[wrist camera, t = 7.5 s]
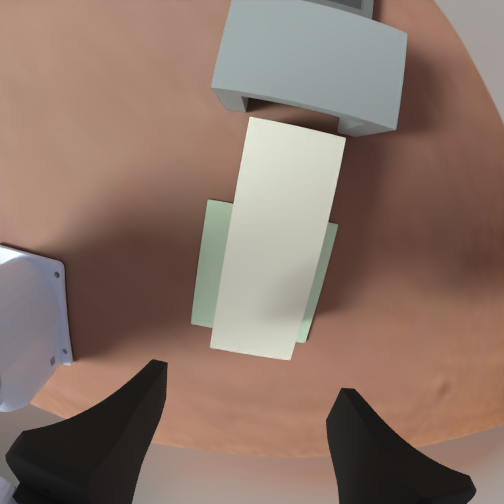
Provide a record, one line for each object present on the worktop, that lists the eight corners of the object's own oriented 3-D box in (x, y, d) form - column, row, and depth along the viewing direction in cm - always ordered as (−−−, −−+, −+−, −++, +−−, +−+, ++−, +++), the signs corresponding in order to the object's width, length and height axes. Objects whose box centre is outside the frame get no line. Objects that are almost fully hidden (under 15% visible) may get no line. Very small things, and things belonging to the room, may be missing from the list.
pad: (304, 341, 21) (305, 342, 21) (191, 322, 21) (190, 323, 21) (337, 224, 19) (338, 224, 19) (208, 198, 19) (208, 199, 18)
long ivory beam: (284, 325, 21) (289, 360, 17) (218, 314, 21) (209, 347, 17) (327, 142, 17) (345, 138, 13) (251, 125, 17) (249, 116, 13)
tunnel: (355, 137, 17) (395, 130, 12) (225, 109, 17) (210, 87, 11) (367, 64, 16) (407, 33, 10) (241, 35, 16) (234, -10, 10)
